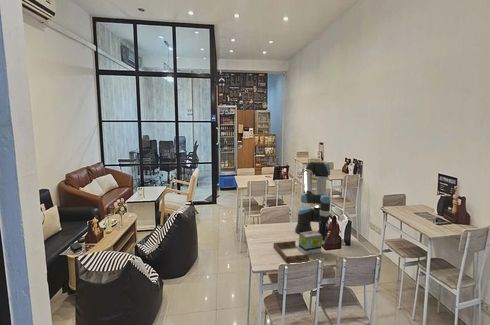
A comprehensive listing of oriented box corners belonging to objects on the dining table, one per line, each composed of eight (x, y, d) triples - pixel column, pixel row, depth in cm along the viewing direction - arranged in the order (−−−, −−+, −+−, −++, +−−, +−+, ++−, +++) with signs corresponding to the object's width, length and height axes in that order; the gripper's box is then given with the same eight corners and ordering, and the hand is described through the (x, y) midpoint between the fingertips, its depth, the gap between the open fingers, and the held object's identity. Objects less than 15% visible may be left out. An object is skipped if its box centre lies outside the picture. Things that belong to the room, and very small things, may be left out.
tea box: (305, 255, 218) (306, 237, 216) (297, 250, 227) (298, 232, 225) (321, 252, 224) (322, 234, 222) (313, 247, 233) (314, 229, 231)
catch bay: (294, 245, 235) (294, 240, 235) (309, 259, 212) (309, 254, 211) (273, 247, 230) (273, 242, 230) (285, 262, 207) (285, 257, 206)
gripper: (315, 212, 229) (314, 240, 232) (324, 218, 217) (322, 247, 220) (324, 212, 231) (322, 240, 234) (333, 217, 219) (331, 246, 222)
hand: (322, 243), depth 227 cm, fingers closed
